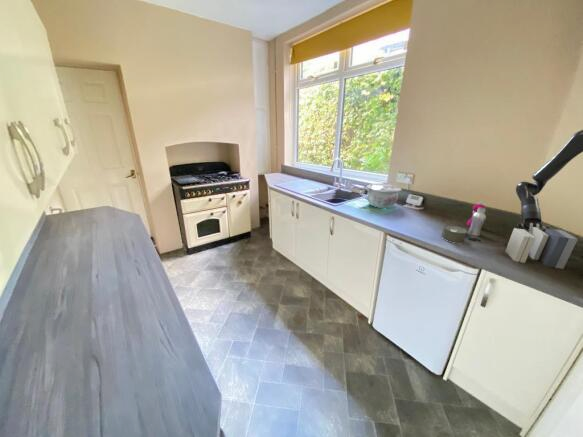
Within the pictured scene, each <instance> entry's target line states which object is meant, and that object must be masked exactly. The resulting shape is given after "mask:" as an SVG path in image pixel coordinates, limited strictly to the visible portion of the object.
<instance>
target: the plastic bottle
mask: <svg viewBox="0 0 583 437" xmlns="http://www.w3.org/2000/svg"><path fill="white" fill-rule="evenodd" d="M486 210H487V209H486V207H485V208H478V210H477V212H476V213H475V214H473V213H472V215H473V216H471V217H472V222H471V226H469V228H468V230H467V234H469V235H471V236H472V237H471V236H466V239H467V240H469V241H473V242H477V241H479V240H480V239H479V238H477V237H478V236H479V237H480V236H481V231H482V227H483V225H484V224H485V222H486V219H487V215H486V214H485V213H486ZM473 236H476V237H473Z"/></svg>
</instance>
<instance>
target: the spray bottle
mask: <svg viewBox="0 0 583 437" xmlns="http://www.w3.org/2000/svg"><path fill="white" fill-rule="evenodd" d="M478 208H485V209H486V207H485V205H483V202H482V201H479V202H478V203H476V204H474V205H473V206H472V216H473V214H475V213H476V212H477V210H478ZM472 216H471V217H470V218H469V219H468V220H467V222H466V226H467V227H470V226H471V222H472Z"/></svg>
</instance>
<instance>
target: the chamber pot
mask: <svg viewBox="0 0 583 437" xmlns="http://www.w3.org/2000/svg"><path fill="white" fill-rule="evenodd" d="M365 190H366V191H367V196H366V195H365V194H364V192H365ZM401 191H402V188H401V187H400V186H397V185H394V184H389V183H387V182H381V183H370V184H367V185H366V186H364V187H363V188H362V189H361V191H360V193H361V196H362V197H363V198H364V199H365V200H366V201H367V202H368V204H370V206H372V207H373V206H374V208H376V207H378V208H377V209H382V208H387V209H391V208H392V207H393V206H394V205H395V204H396V203H397V201H398V199H399V196H400V195H399V192H401Z"/></svg>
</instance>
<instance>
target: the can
mask: <svg viewBox="0 0 583 437" xmlns="http://www.w3.org/2000/svg"><path fill="white" fill-rule="evenodd" d="M467 234H468V230H467V228H464V227H462V226H458V225H454V224H445V225H443V227H442V232H441V236H442V237H443V238H444V239H446V240H448V241H451V242H450V243H452V242H455V243H454V244H464V243H465V239H466V237H467ZM444 239H443V240H444ZM446 240H445V241H446ZM448 241H447V242H448Z"/></svg>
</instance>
